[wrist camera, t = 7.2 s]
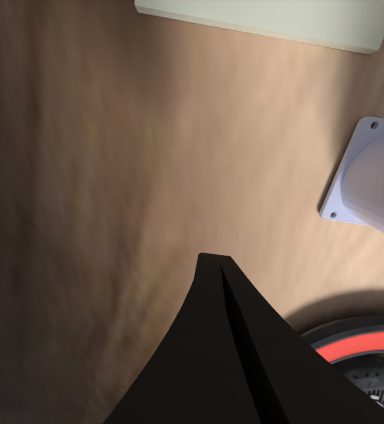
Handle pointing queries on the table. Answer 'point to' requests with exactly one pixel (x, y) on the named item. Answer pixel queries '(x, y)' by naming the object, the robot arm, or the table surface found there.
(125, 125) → the table surface
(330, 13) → the board
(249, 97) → the table surface
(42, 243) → the table surface
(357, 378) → the electronic game
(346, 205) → the robot arm
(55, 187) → the table surface
